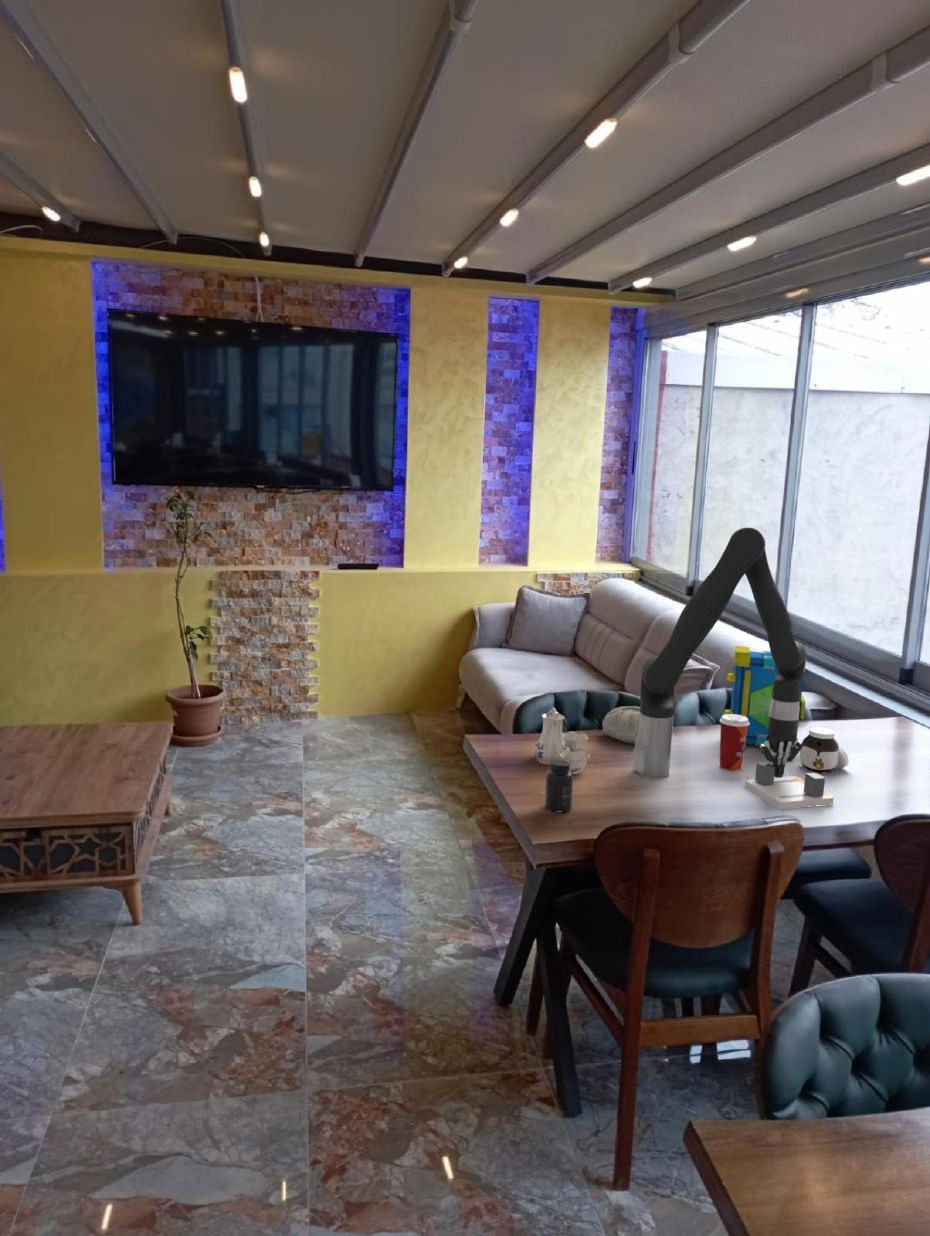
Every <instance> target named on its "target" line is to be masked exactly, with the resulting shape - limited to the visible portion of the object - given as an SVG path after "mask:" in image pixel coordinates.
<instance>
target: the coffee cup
mask: <svg viewBox="0 0 930 1236" xmlns="http://www.w3.org/2000/svg"><path fill="white" fill-rule="evenodd" d="M719 722H720V734H719V735H720V740H719V745H720V746H719V767H720V768H721V769H723V770H727V771H732V772H733V771H735V772H736V771H740V770H742V767H743V766H742V765H743V759H744V755H745V754H744V753H745V748H746V747H745V746H746V743H745V742H746V735H747V729H748V725H749V722H748V718H747V717H745V716H741V715H736V714H725V715H724V714H722V716H721V718H720V719H719Z"/></svg>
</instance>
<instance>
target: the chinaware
mask: <svg viewBox="0 0 930 1236" xmlns="http://www.w3.org/2000/svg"><path fill="white" fill-rule="evenodd" d="M541 717H542V722H543V723H542V731H541V734H540V737H539V739H538V740H537V742H536V743H535V744H534V746H533V748H532V754H533V755H534V757H535V759H538V760H539V761H543V762H546V763H550V762H551V761H553V760H565V761H568V762H569V763H570V766H569V768H570V770H569V772H570V773H571V772H578V771H579V772H580V771H583V769H584V768H585V766H586V765H587V762H588V760H589V759H590V758H591V755H590V754H588V753H585V752H584V751H583V749H584V747H585V745H586V742H587V741H588V740H589V737H588V734H586V733H583V732H581V733H578V732H576V731H573V730H572V731H568V732H566V733H565V732H563V722H564V719H565V716H564V715H562V714H561V713H559V712H558V711H557V709H556V708H555V706H552V708H551V709H550V710H549V711H547V713H542V714H541ZM579 772H578V773H579Z"/></svg>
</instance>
